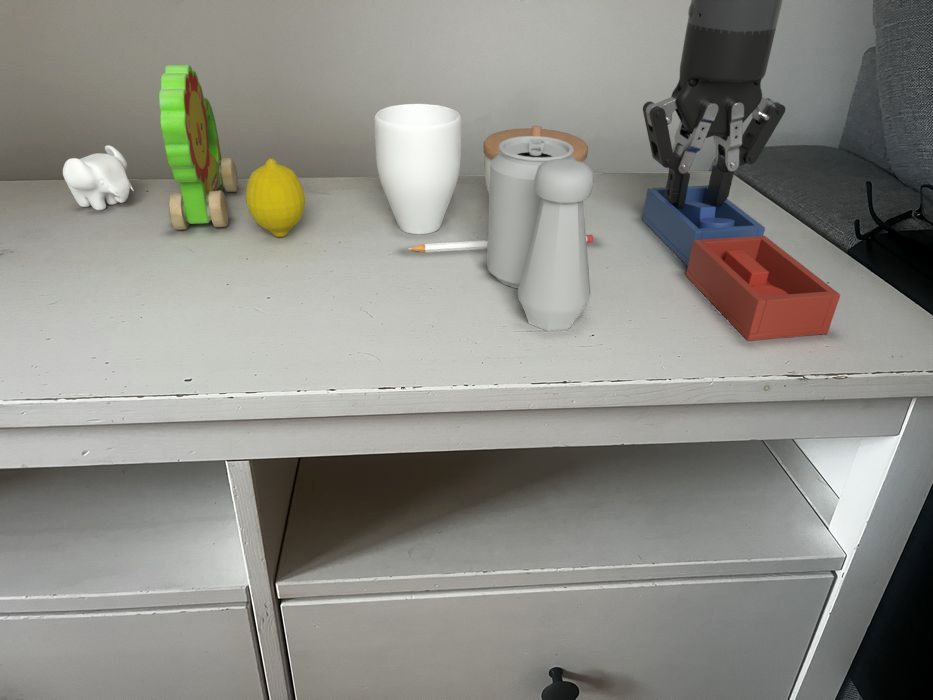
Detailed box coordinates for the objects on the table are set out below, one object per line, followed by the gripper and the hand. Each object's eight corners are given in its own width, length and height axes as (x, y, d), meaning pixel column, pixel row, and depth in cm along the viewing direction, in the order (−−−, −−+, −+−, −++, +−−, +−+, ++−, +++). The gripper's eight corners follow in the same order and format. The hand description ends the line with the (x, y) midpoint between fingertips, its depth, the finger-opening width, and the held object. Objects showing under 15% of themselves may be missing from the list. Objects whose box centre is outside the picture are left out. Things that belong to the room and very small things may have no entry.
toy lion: (193, 187, 83) (165, 46, 75) (241, 185, 84) (219, 45, 75) (166, 245, 70) (129, 81, 61) (224, 242, 70) (196, 80, 62)
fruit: (303, 221, 75) (295, 145, 71) (313, 243, 71) (305, 163, 66) (249, 228, 73) (237, 150, 69) (255, 250, 69) (243, 169, 65)
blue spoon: (670, 225, 75) (672, 201, 74) (699, 223, 75) (701, 200, 74) (708, 238, 67) (710, 213, 67) (739, 236, 68) (742, 211, 67)
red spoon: (712, 275, 65) (717, 251, 64) (744, 273, 66) (751, 248, 64) (757, 319, 59) (764, 293, 57) (792, 316, 59) (800, 290, 58)
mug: (462, 242, 72) (464, 126, 65) (378, 243, 71) (372, 126, 65) (455, 198, 82) (456, 94, 75) (381, 198, 81) (376, 94, 75)
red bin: (755, 270, 67) (764, 235, 66) (827, 334, 58) (840, 294, 56) (685, 275, 66) (693, 239, 64) (747, 340, 57) (758, 301, 55)
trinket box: (460, 210, 78) (462, 123, 73) (530, 189, 84) (536, 107, 79) (530, 243, 72) (537, 149, 67) (600, 217, 78) (612, 129, 73)
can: (480, 289, 63) (484, 155, 57) (491, 253, 70) (497, 128, 63) (566, 297, 62) (580, 161, 56) (569, 260, 69) (583, 134, 62)
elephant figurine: (108, 222, 74) (93, 166, 71) (49, 210, 76) (32, 155, 73) (155, 200, 79) (143, 147, 76) (98, 189, 82) (84, 137, 78)
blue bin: (702, 216, 78) (709, 185, 76) (756, 262, 69) (765, 227, 67) (642, 220, 77) (647, 187, 75) (688, 267, 68) (695, 231, 66)
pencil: (593, 243, 72) (594, 237, 72) (407, 254, 69) (407, 247, 69) (590, 240, 73) (591, 233, 72) (406, 250, 70) (406, 244, 70)
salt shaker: (595, 311, 61) (615, 158, 53) (574, 343, 56) (593, 182, 49) (530, 295, 63) (541, 147, 55) (505, 326, 58) (514, 169, 51)
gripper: (674, 28, 59) (642, 223, 69) (829, 26, 61) (778, 215, 71) (640, 14, 65) (615, 195, 75) (782, 13, 68) (740, 189, 77)
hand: (695, 204), depth 73 cm, fingers closed on blue bin, 3 cm apart
